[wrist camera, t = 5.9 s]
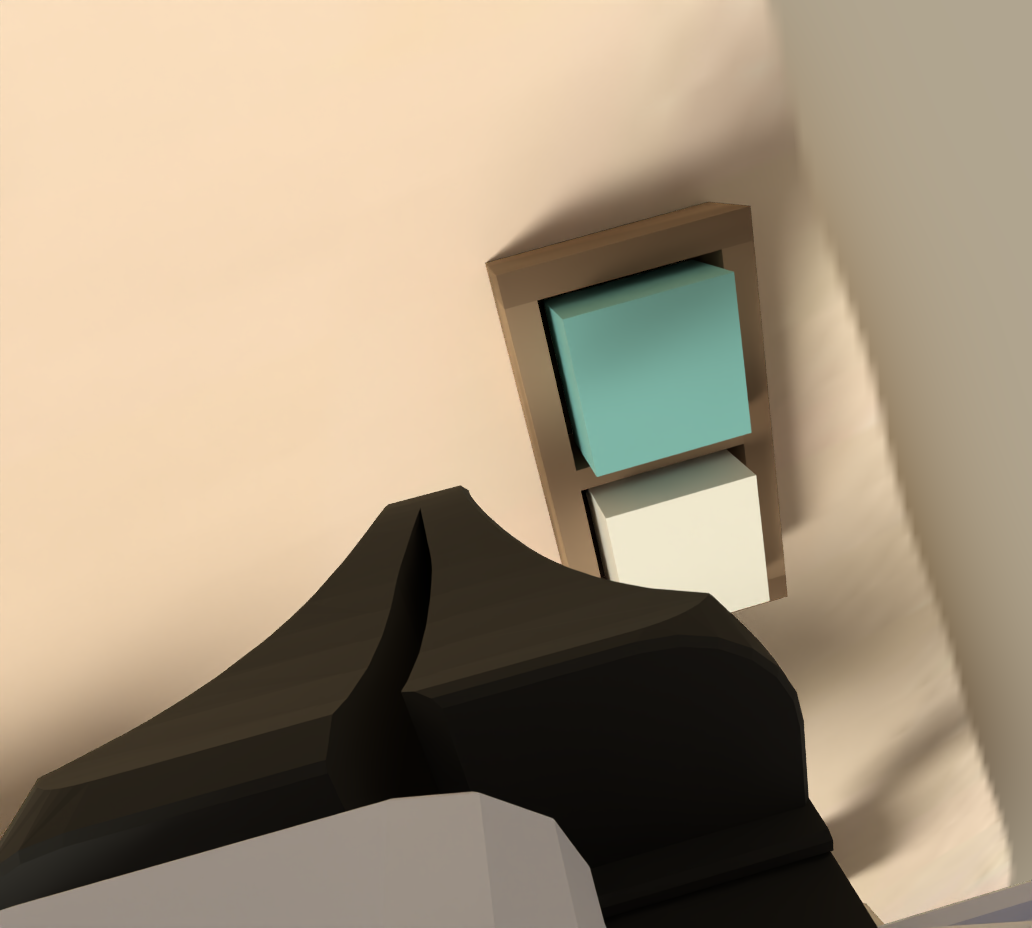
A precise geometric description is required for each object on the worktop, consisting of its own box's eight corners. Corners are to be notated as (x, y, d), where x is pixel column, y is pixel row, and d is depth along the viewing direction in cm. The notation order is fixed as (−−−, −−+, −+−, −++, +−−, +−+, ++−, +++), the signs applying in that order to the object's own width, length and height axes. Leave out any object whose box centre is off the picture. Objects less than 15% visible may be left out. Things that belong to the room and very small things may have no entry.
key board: (749, 554, 23) (787, 596, 21) (572, 606, 23) (590, 654, 21) (708, 201, 18) (750, 206, 16) (485, 263, 18) (496, 275, 16)
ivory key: (731, 555, 21) (769, 600, 19) (608, 591, 21) (632, 641, 19) (716, 440, 20) (756, 474, 18) (582, 478, 20) (606, 518, 17)
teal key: (710, 402, 19) (751, 432, 17) (574, 441, 19) (597, 477, 17) (692, 259, 18) (733, 272, 15) (543, 300, 18) (562, 319, 15)
